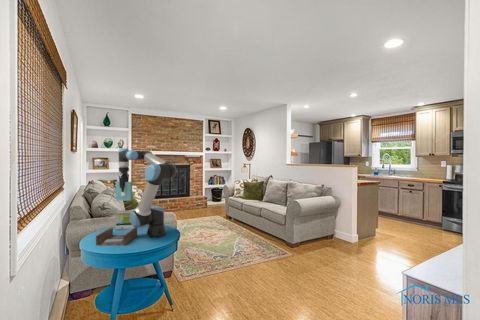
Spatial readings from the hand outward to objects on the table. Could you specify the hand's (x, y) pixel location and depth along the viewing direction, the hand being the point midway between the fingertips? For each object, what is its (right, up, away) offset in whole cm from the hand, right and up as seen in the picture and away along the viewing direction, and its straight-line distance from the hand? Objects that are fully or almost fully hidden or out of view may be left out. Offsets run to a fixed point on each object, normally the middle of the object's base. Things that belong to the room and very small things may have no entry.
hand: (124, 195), depth 200 cm
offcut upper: (+5, -31, -26) cm, 41 cm away
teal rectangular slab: (0, -4, 0) cm, 4 cm away
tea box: (-6, -32, +17) cm, 36 cm away
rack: (+5, -32, -20) cm, 38 cm away
